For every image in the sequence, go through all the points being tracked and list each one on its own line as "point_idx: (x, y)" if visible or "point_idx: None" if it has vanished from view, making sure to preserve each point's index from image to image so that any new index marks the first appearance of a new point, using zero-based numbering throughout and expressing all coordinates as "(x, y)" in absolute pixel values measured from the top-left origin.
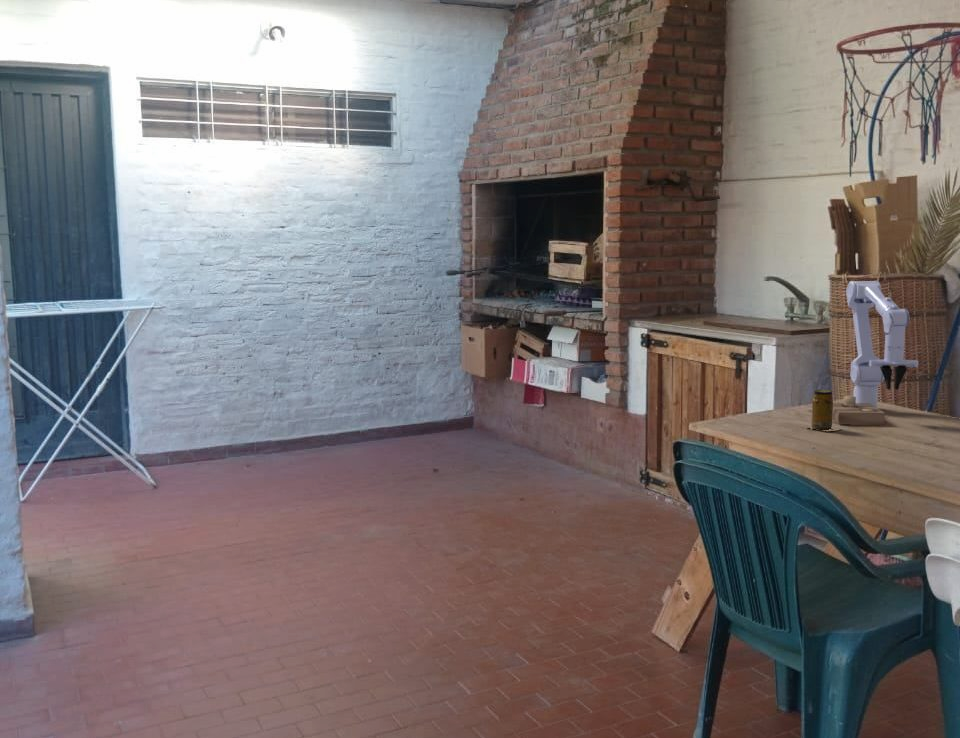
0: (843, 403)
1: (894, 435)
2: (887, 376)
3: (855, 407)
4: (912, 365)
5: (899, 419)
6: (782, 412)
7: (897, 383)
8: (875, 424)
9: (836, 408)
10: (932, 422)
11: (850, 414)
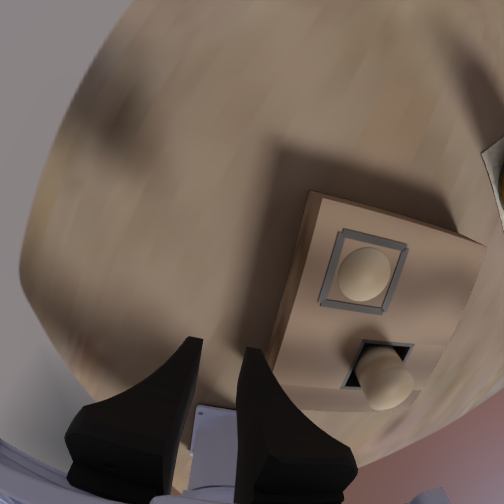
0: (364, 407)
1: (359, 13)
2: (296, 413)
3: (376, 340)
4: (7, 454)
5: (181, 296)
6: (461, 402)
7: (193, 360)
8: (345, 199)
9: (450, 323)
10: (82, 222)
11: (452, 234)
